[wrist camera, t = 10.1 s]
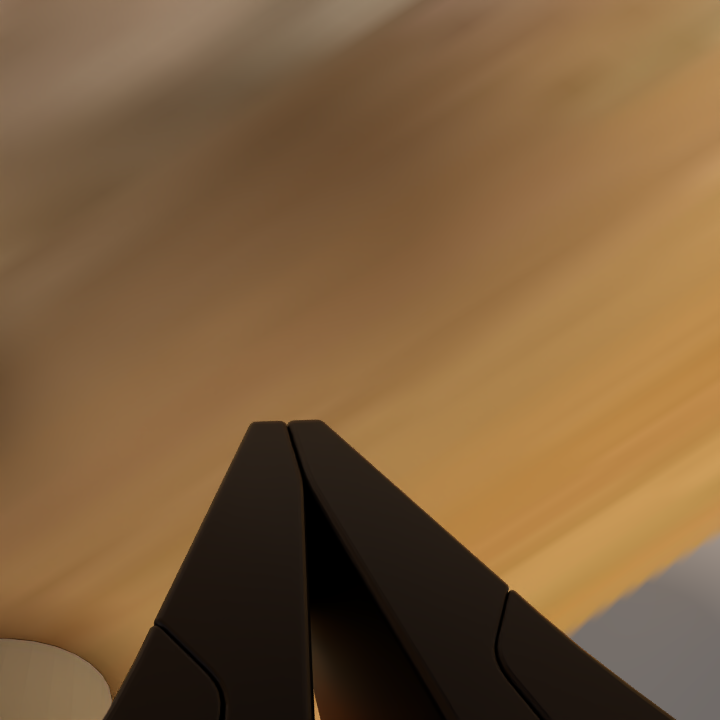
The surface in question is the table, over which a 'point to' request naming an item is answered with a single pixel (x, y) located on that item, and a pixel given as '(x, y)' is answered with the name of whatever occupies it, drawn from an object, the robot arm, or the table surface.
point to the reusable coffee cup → (49, 684)
